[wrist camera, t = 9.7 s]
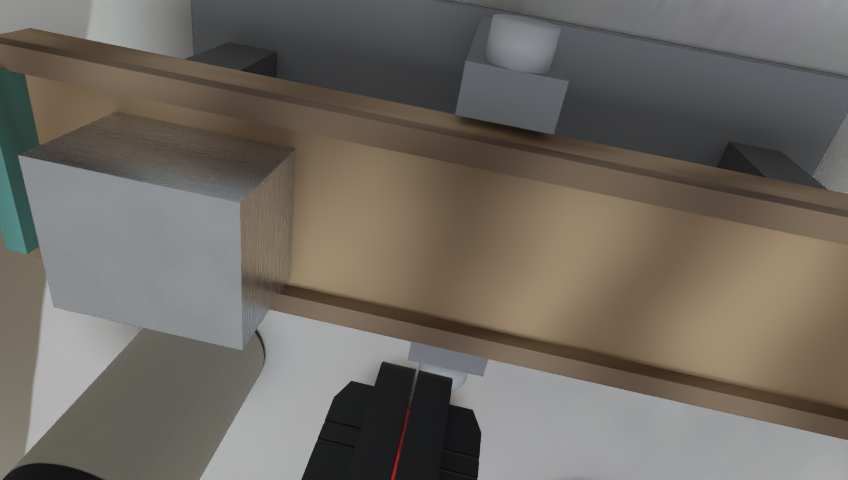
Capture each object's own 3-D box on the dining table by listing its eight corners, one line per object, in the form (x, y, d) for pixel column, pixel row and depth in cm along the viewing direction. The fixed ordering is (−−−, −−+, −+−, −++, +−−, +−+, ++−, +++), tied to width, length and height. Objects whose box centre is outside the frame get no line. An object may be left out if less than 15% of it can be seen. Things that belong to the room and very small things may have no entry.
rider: (295, 148, 17) (239, 202, 14) (290, 277, 20) (242, 350, 16) (115, 111, 18) (17, 154, 14) (133, 242, 20) (53, 307, 17)
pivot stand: (861, 53, 24) (1090, 135, 14) (722, 307, 31) (815, 473, 21) (200, -72, 25) (11, -73, 16) (211, 199, 32) (86, 310, 23)
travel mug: (274, 318, 36) (94, 611, 21) (257, 399, 40) (96, 694, 25) (158, 279, 36) (-112, 545, 20) (153, 364, 40) (-76, 640, 24)
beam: (1020, 229, 17) (1112, 284, 14) (873, 407, 21) (924, 475, 18) (30, 28, 18) (-50, 44, 16) (70, 229, 22) (11, 268, 20)
